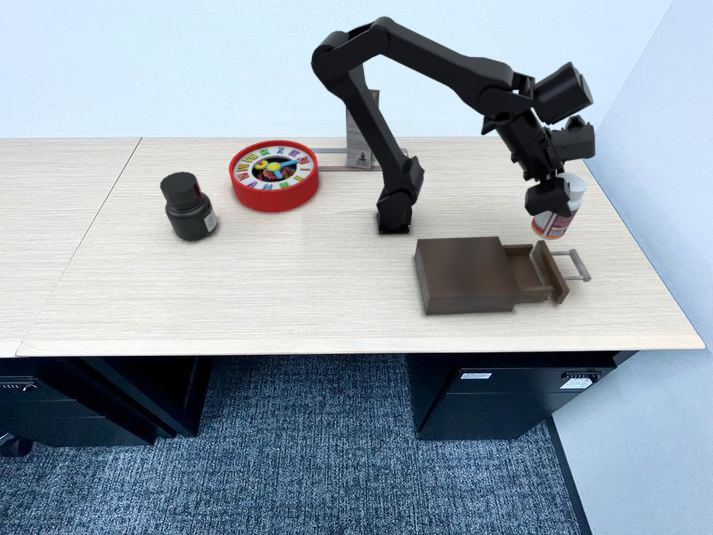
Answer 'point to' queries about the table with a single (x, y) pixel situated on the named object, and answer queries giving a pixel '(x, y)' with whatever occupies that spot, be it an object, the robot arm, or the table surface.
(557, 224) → the pill bottle
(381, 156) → the robot arm
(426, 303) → the cabinet
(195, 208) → the ink bottle
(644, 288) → the table surface
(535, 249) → the drawer
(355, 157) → the coffee box
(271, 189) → the toy clock
